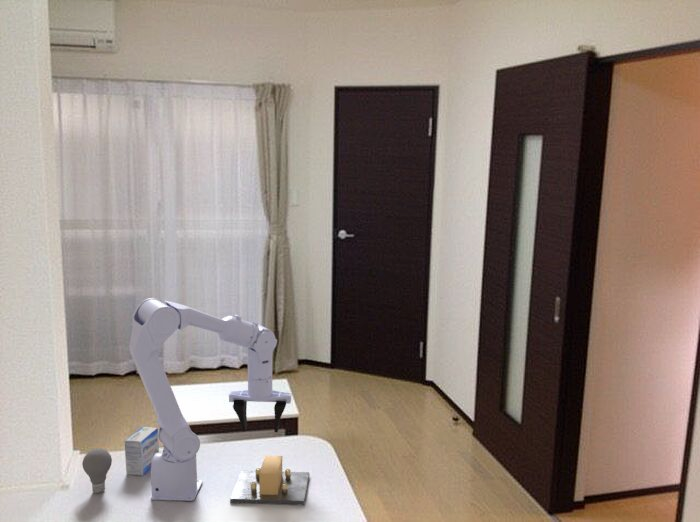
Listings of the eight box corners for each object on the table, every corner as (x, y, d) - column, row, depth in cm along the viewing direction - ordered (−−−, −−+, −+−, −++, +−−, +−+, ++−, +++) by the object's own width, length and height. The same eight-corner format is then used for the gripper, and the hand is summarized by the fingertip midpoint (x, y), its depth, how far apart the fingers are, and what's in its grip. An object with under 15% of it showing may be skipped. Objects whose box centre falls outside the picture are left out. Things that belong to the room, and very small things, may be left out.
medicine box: (143, 477, 145) (141, 442, 143) (125, 474, 145) (123, 440, 144) (159, 460, 152) (158, 427, 151) (143, 458, 153) (141, 425, 152)
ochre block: (259, 494, 136) (259, 473, 135) (265, 475, 144) (265, 455, 143) (277, 494, 136) (277, 473, 135) (282, 476, 144) (282, 455, 143)
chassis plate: (230, 502, 134) (230, 490, 134) (241, 474, 146) (241, 462, 146) (303, 505, 134) (304, 492, 134) (308, 476, 146) (309, 464, 145)
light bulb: (106, 481, 142) (104, 440, 140) (117, 491, 138) (115, 450, 136) (79, 491, 138) (77, 449, 136) (90, 502, 134) (88, 459, 132)
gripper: (292, 370, 150) (292, 423, 152) (233, 369, 150) (233, 421, 153) (289, 381, 143) (289, 436, 145) (226, 379, 143) (227, 434, 146)
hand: (260, 430), depth 148 cm, fingers open, 7 cm apart
